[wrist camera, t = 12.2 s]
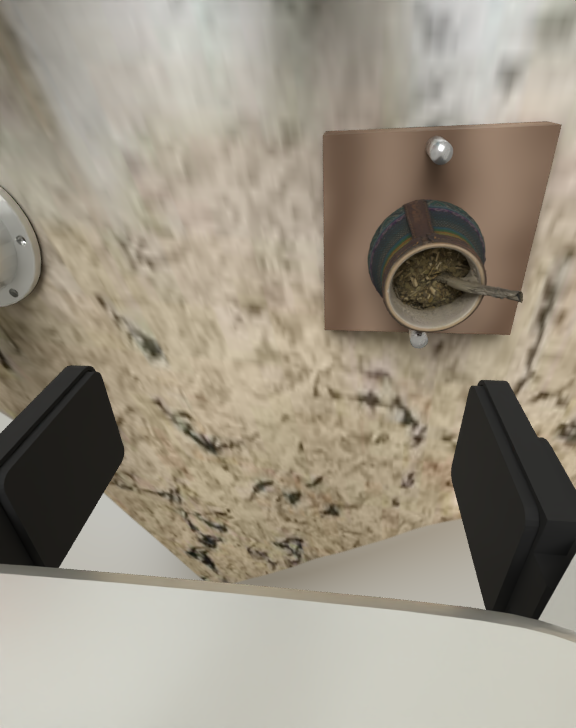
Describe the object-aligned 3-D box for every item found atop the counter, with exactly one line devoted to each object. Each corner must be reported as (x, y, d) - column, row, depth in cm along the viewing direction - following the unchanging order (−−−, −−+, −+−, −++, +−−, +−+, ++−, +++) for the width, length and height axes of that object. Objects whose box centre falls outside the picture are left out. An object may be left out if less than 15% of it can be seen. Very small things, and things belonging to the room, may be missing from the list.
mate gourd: (354, 210, 30) (348, 260, 22) (470, 170, 28) (512, 209, 20) (381, 302, 34) (385, 376, 25) (487, 274, 31) (529, 344, 23)
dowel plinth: (327, 316, 38) (321, 348, 33) (326, 131, 30) (318, 140, 26) (501, 319, 35) (521, 355, 31) (547, 121, 28) (581, 129, 23)
